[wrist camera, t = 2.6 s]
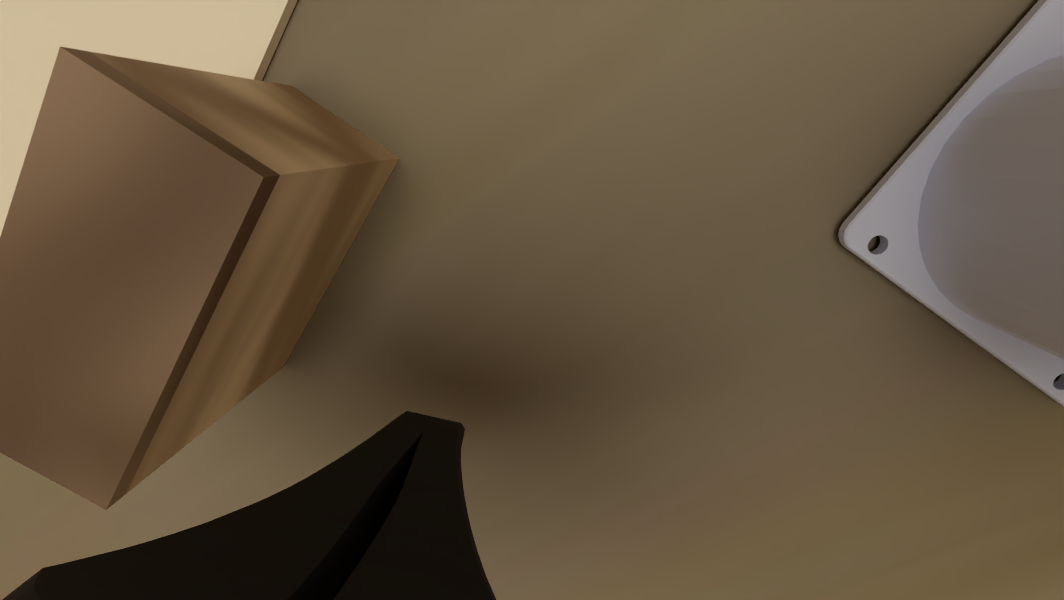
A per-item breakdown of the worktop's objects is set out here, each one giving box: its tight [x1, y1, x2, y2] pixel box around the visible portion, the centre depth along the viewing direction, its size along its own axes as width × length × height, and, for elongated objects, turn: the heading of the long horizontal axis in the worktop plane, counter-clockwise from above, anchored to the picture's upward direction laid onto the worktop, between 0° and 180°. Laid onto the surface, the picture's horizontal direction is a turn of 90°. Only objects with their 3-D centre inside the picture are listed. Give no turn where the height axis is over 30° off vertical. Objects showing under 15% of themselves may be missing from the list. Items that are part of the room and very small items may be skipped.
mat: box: [0, 0, 297, 236], centre depth 15 cm, size 12×14×1 cm
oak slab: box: [0, 47, 399, 510], centre depth 13 cm, size 4×8×7 cm, turn 146°
